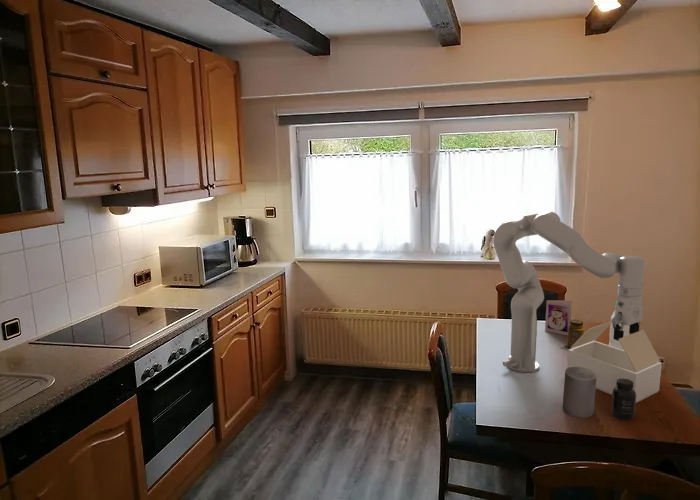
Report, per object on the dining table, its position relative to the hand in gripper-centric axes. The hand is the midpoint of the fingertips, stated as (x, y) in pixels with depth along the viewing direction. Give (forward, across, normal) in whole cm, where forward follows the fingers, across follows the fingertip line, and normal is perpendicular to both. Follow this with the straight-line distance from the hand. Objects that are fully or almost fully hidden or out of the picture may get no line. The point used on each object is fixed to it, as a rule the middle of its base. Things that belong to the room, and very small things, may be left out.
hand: (626, 337), depth 185 cm
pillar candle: (+20, -27, -1) cm, 34 cm away
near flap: (+3, 0, -5) cm, 6 cm away
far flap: (+3, 0, +13) cm, 13 cm away
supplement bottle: (+20, -18, -11) cm, 29 cm away
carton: (+20, 0, +4) cm, 20 cm away
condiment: (+20, +19, +33) cm, 43 cm away
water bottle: (+20, +22, +15) cm, 33 cm away
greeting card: (+20, +31, +49) cm, 61 cm away
